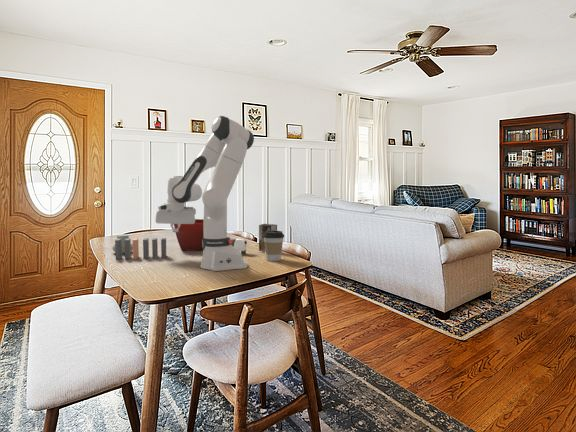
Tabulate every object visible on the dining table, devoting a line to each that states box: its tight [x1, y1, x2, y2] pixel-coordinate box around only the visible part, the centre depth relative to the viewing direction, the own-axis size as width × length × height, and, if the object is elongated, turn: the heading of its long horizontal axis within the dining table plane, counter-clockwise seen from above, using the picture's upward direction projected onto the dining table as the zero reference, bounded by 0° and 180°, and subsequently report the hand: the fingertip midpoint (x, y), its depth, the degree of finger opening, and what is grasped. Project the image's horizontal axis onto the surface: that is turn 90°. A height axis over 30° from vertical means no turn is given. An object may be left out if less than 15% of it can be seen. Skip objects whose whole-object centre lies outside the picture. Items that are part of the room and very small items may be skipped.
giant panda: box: [227, 236, 248, 256], centre depth 204 cm, size 15×6×10 cm, turn 82°
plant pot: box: [173, 218, 204, 251], centre depth 217 cm, size 19×19×17 cm
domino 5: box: [151, 237, 159, 259], centre depth 192 cm, size 2×5×10 cm, turn 13°
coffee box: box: [258, 223, 278, 253], centre depth 210 cm, size 9×6×16 cm
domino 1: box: [114, 238, 123, 260], centre depth 188 cm, size 2×5×10 cm, turn 13°
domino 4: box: [142, 237, 150, 260], centre depth 191 cm, size 2×5×10 cm, turn 13°
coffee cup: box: [263, 230, 285, 262], centre depth 189 cm, size 11×11×15 cm
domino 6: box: [160, 237, 167, 259], centre depth 193 cm, size 2×5×10 cm, turn 13°
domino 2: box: [124, 238, 132, 260], centre depth 189 cm, size 2×5×10 cm, turn 14°
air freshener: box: [112, 234, 133, 255], centre depth 202 cm, size 11×8×10 cm
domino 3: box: [132, 237, 140, 260], centre depth 190 cm, size 2×5×10 cm, turn 14°
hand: (175, 232), depth 194 cm, fingers closed
